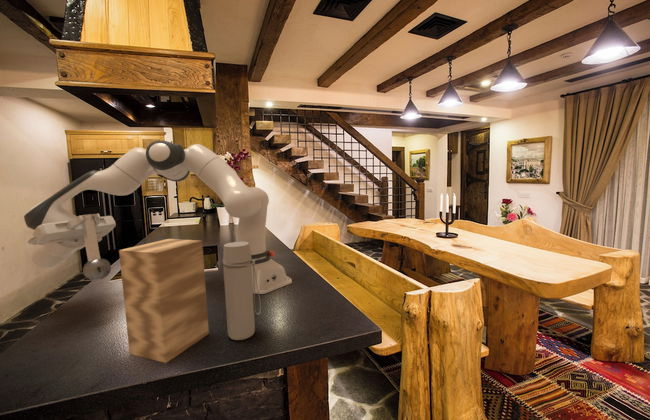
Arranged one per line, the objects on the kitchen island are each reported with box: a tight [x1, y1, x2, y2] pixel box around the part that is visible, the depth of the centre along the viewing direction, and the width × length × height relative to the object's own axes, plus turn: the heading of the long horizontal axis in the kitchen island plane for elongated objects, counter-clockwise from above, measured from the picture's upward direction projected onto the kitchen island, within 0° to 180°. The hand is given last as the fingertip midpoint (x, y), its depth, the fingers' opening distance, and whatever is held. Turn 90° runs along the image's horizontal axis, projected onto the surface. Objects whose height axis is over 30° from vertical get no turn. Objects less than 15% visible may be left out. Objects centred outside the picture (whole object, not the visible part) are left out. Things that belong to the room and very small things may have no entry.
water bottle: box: [222, 241, 262, 341], centre depth 81 cm, size 9×8×25 cm
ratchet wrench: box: [81, 213, 112, 280], centre depth 90 cm, size 20×6×4 cm
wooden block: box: [118, 238, 210, 364], centre depth 78 cm, size 12×14×26 cm
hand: (90, 216), depth 89 cm, fingers closed on ratchet wrench, 2 cm apart
